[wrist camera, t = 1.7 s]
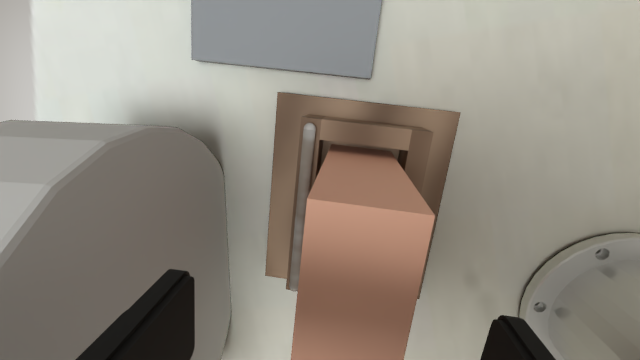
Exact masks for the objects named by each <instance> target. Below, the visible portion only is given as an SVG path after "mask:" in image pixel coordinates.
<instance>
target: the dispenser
mask: <svg viewBox="0 0 640 360" xmlns="http://www.w3.org/2000/svg"><path fill="white" fill-rule="evenodd" d="M459 117H460V113H459V112H451V111H442V110H434V109H425V108H416V107H407V106H398V105H389V104H380V103H371V102H362V101H353V100H344V99H335V98H326V97H317V96H308V95H299V94H290V93H281V92H278V95H277V110H276V124H275V139H274V154H273V169H272V183H271V198H270V213H269V228H268V242H267V257H266V272H265V276H272V277H278V278H285V279H287V283H286V289H288V290H291V291H298V284H299V274H300V264H301V254H302V244H303V234H304V224H305V214H306V205H307V198H308V195H309V193H310V191H311V189H312V187H313V184H314V182H315V180H316V178H317V175H318V173H319V171H320V169H321V166H322V164H323V162H324V160H325V158H326V155H327V153H328V151H329V149H330V146H331V144H338V145H346V146H354V147H362V148H370V149H379V150H387V151H391V153H392V154H393V156H394V157H395V158H396V160H397V161H398V163H399V164H400V166H401V167H402V169H403V170H404V171H405V173H406V174H407V176H408V177H409V179H410V180H411V182H412V183H413V184H414V186H415V187H416V189H417V190H418V192H419V193H420V195H421V196H422V197H423V199H424V200H425V202H426V203H427V205H428V206H429V208H430V209H431V210H432V212H433V213H434V215H435V219H434V224H433V228H432V233H431V237H430V242H429V246H428V251H427V255H426V260H425V264H424V269H423V274H422V278H421V283H420V287H419V292H418V296H417V299H419V297H420V292H421V288H422V283H423V279H424V274H425V270H426V265H427V261H428V256H429V252H430V247H431V243H432V238H433V234H434V229H435V225H436V220H437V216H438V212H439V207H440V203H441V198H442V194H443V189H444V185H445V180H446V176H447V171H448V167H449V162H450V158H451V153H452V149H453V144H454V140H455V135H456V131H457V126H458V122H459Z"/></svg>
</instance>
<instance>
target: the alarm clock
mask: <svg viewBox="0 0 640 360" xmlns="http://www.w3.org/2000/svg"><path fill="white" fill-rule="evenodd" d="M169 269H176V270H183V271H188V272H189V274H190V276H192V277H194V281H195V347H194V352H193V355H192V357H191V359H190V360H221V357H222V353H223V349H224V345H225V341H226V337H227V333H228V328H229V322H230V317H231V294H230V275H229V257H228V238H227V220H226V201H225V183H224V174H223V171H222V169H221V166H220V164H219V162H218V160H217V159H216V158H215V156H214V155H213V154H212V153H211V152H210V150H209V149H208V148H207V147H206V146H205V144H204V143H203V142H202V141H201V140H199V139H197V138H195V137H193V136H192V135H190V134H188V133H186V132H184V131H183V130H181V129H179V128H177V127H163V126H148V125H125V124H100V123H74V122H49V121H23V120H9V121H3V122H0V360H76V359H77V358H78V357H79V356H80V355H81V354H82V353H83V352H84V351H85V350H86V349H87V348H88V347H89V346H90V345H91V344H92V343H93V342H94V341H95V340H96V339H97V338H98V337H99V336H100V335H101V334H102V333H103V332H104V331H105V330H106V329H107V328H108V327H109V326H110V325H111V324H112V323H113V322H114V321H115V320H116V319H117V318H118V317H119V316H120V315H121V314H122V313H124V312H125V311H126V310H128V309H129V308H130V307H131V306H132V305H133V304H134V303H135V302H136V301H137V300H138V299H139V298H140V297H141V296H142V295H143V294H144V293H145V292H146V291H147V290H148V289H149V288H150V287H151V286H152V285H153V284H154V283H155V282H156V281H157V280H158V279H159V278H160V277H161V276H162V275H163V274H164V273H165V272H166V271H167V270H169Z"/></svg>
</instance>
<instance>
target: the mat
mask: <svg viewBox="0 0 640 360" xmlns="http://www.w3.org/2000/svg"><path fill="white" fill-rule="evenodd" d="M381 2H382V0H191V46H192V60H196V61H203V62H212V63H222V64H231V65H240V66H250V67H259V68H269V69H278V70H288V71H297V72H306V73H316V74H325V75H335V76H344V77H353V78H363V79H371V72H372V65H373V58H374V51H375V44H376V37H377V30H378V23H379V16H380V9H381Z"/></svg>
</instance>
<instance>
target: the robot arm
mask: <svg viewBox="0 0 640 360" xmlns="http://www.w3.org/2000/svg"><path fill="white" fill-rule="evenodd" d="M519 317H520V318H518V317H511V316H504V315H502V316H500V317H498V319H497V320H493V322H492V324H491V327H490V330H489V334H488V337H487V340H486V343H485V347H484V350H483V353H482V356H481V360H640V234H637V233H615V234H608V235H603V236H598V237H594V238H591V239H588V240H585V241H582V242H579V243H576V244H575V245H573V246H571V247H569V248H567V249H565V250H563V251H561V252H560V253H558V254H557V255H556V256H554V257H553V258H552V259H550V260H549V261H548V262H546V263H545V265H544V266H543V267H542V268H541V269H540V270H539V271H538V272H537V273H536V274H535V275H534V277H533V278H532V280H531V282H530V283H529V285H528V286H527V288H526V290H525V293H524V296H523V298H522V301H521V307H520V314H519ZM194 347H195V281H194V277H192V276H190V274H189V272H188V271H183V270H176V269H169V270H167V271H166V272H165V273H164V274H163V275H162V276H161V277H160V278H159V279H158V280H157V281H156V282H155V283H154V284H153V285H152V286H151V287H150V288H149V289H148V290H147V291H146V292H145V293H144V294H143V295H142V296H141V297H140V298H139V299H138V300H137V301H136V302H135V303H134V304H133V305H132V306H131V307H130V308H129V309H128V310H126V311H125V312H124V313H122V314H121V315H120V316H119V317H118V318H117V319H116V320H115V321H114V322H113V323H112V324H111V325H110V326H109V327H108V328H107V329H106V330H105V331H104V332H103V333H102V334H101V335H100V336H99V337H98V338H97V339H96V340H95V341H94V342H93V343H92V344H91V345H90V346H89V347H88V348H87V349H86V350H85V351H84V352H83V353H82V354H81V355H80V356H79V357H78V358H77V359H76V360H190V359H191V357H192V355H193V352H194Z"/></svg>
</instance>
